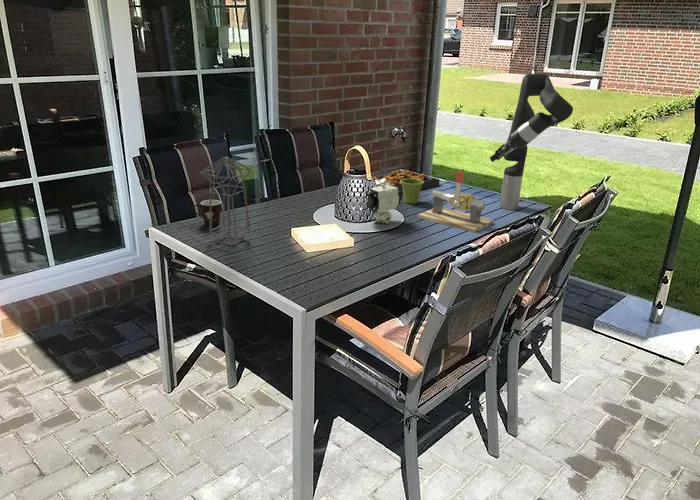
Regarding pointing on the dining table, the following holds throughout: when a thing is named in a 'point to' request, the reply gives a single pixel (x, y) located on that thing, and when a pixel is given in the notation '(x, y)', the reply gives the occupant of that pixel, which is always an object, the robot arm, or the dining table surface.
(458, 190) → the valve lever
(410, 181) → the plant pot
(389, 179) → the food platter
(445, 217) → the mounting board
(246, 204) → the geometric lantern
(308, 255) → the dining table surface
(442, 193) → the valve body
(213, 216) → the coffee mug
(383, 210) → the ball valve
